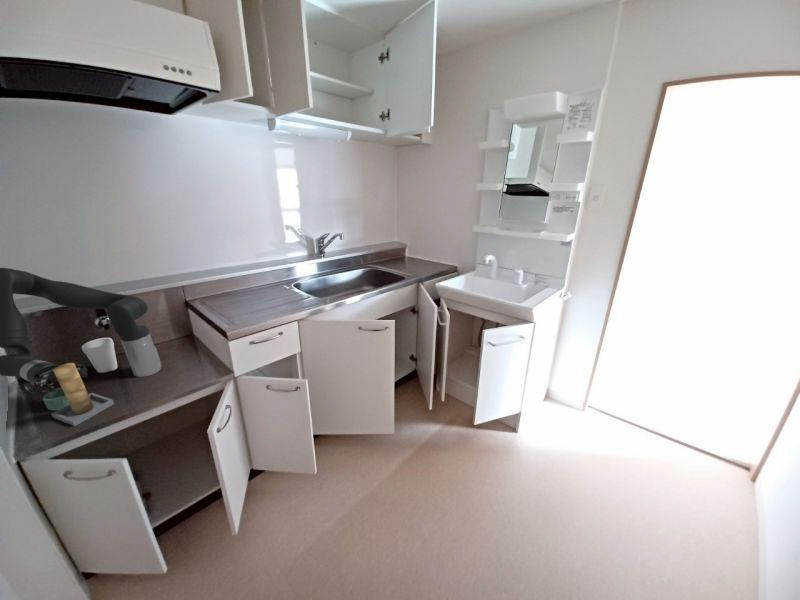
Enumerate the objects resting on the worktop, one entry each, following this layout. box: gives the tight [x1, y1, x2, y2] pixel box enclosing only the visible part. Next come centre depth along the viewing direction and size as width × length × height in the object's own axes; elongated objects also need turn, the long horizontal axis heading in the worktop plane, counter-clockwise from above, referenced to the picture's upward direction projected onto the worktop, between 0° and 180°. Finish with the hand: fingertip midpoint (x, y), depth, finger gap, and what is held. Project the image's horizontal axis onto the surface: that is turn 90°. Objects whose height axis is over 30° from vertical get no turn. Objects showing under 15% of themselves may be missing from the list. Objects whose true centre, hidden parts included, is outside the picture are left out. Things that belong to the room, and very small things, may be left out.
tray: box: [50, 392, 115, 427], centre depth 109 cm, size 12×12×2 cm
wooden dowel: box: [53, 362, 94, 415], centre depth 106 cm, size 5×5×18 cm
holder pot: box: [41, 386, 69, 411], centre depth 112 cm, size 8×8×5 cm
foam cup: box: [81, 337, 118, 374], centre depth 131 cm, size 10×9×13 cm
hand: (70, 381), depth 105 cm, fingers open, 8 cm apart
